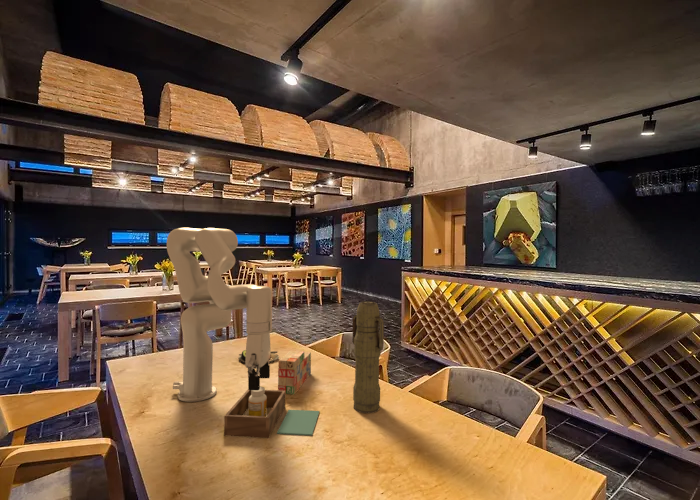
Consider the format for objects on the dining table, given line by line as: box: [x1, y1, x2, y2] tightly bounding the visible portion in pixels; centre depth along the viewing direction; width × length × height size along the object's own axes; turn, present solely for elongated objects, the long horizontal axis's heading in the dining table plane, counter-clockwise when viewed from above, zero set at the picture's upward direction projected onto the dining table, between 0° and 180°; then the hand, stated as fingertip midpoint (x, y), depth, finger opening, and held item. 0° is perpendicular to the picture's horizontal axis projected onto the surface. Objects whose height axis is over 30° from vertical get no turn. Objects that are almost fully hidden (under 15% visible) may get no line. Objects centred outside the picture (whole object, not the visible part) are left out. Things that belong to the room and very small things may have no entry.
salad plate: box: [238, 349, 280, 365], centre depth 163 cm, size 19×18×5 cm
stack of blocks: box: [277, 350, 312, 395], centre depth 134 cm, size 21×6×12 cm, turn 170°
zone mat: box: [276, 409, 320, 436], centre depth 103 cm, size 10×14×1 cm
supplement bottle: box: [247, 385, 267, 417], centre depth 104 cm, size 5×5×10 cm
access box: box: [223, 389, 287, 439], centre depth 104 cm, size 19×13×6 cm
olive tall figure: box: [351, 300, 385, 414], centre depth 114 cm, size 9×12×35 cm
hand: (259, 383), depth 103 cm, fingers open, 9 cm apart
